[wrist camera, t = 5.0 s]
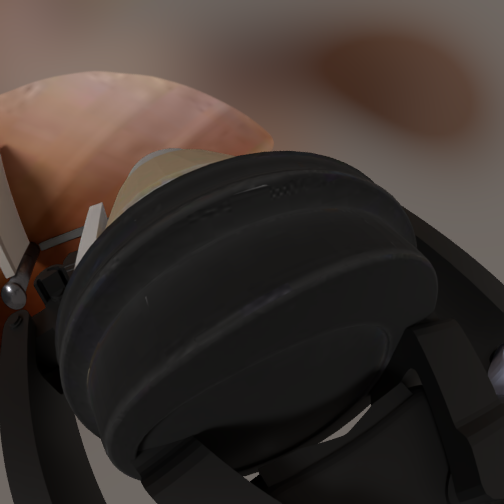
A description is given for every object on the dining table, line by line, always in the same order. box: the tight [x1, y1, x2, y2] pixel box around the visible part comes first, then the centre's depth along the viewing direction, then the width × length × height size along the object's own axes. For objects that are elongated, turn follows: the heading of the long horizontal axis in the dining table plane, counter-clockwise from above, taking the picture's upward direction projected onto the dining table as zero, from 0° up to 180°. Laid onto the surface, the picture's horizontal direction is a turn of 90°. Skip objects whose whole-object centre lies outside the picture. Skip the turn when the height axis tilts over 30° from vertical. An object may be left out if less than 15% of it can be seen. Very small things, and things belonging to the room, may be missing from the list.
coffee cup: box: [55, 148, 438, 481], centre depth 11 cm, size 9×9×15 cm
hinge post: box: [1, 242, 40, 310], centre depth 24 cm, size 3×3×11 cm
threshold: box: [39, 218, 109, 251], centre depth 31 cm, size 14×1×1 cm, turn 96°
